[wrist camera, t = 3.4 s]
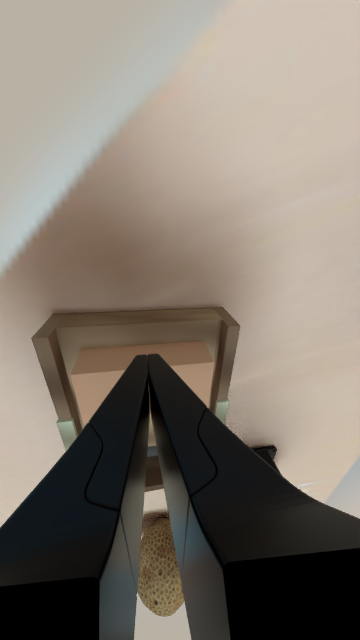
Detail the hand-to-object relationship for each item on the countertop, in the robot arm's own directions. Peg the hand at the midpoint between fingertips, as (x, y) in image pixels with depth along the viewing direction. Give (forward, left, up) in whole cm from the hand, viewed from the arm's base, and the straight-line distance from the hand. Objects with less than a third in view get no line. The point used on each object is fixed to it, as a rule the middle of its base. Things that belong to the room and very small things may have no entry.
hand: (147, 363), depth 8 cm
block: (-7, 0, -8) cm, 11 cm away
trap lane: (-13, 0, -11) cm, 17 cm away
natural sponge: (-43, -1, -11) cm, 45 cm away
